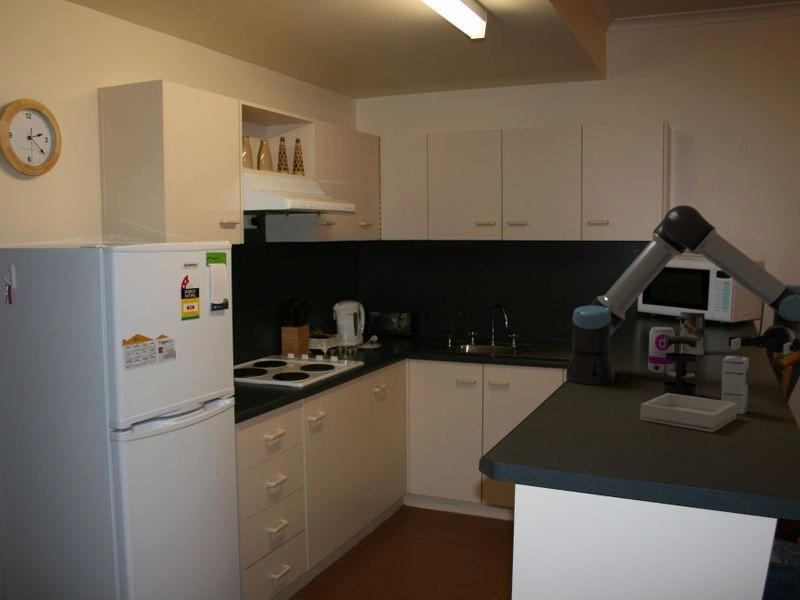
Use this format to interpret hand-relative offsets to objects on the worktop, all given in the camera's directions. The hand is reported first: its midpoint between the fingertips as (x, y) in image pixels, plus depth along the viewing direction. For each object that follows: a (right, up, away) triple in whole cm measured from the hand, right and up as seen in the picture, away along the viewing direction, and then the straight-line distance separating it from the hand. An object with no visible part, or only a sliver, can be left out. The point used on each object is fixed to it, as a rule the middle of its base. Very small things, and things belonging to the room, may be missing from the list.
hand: (758, 347), depth 209 cm
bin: (-26, -17, -17) cm, 35 cm away
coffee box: (+16, -8, +89) cm, 91 cm away
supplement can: (-10, -12, +50) cm, 52 cm away
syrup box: (-10, -17, -8) cm, 21 cm away
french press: (-17, -15, +12) cm, 26 cm away
